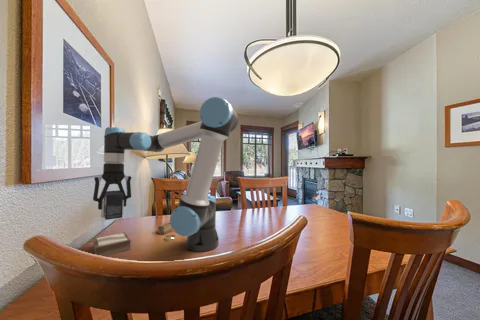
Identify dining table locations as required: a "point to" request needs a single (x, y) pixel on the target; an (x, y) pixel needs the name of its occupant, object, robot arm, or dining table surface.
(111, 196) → the small box
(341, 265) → the dining table surface
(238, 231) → the dining table surface
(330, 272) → the dining table surface
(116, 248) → the plinth
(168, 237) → the brass disc
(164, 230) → the walnut block
